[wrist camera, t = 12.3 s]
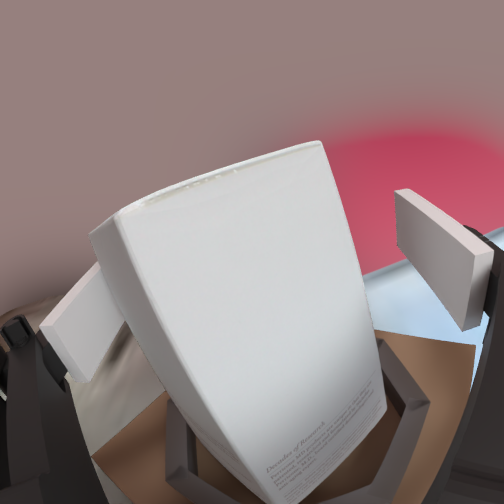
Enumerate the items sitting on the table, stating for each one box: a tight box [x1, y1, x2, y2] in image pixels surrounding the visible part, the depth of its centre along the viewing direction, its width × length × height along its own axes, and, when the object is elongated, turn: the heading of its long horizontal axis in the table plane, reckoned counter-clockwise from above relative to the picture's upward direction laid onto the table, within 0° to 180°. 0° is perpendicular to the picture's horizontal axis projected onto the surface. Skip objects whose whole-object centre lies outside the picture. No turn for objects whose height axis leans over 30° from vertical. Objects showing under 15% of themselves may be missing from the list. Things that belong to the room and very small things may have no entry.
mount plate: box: [91, 330, 476, 504], centre depth 15 cm, size 18×18×3 cm
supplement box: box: [88, 141, 387, 504], centre depth 12 cm, size 7×7×13 cm
